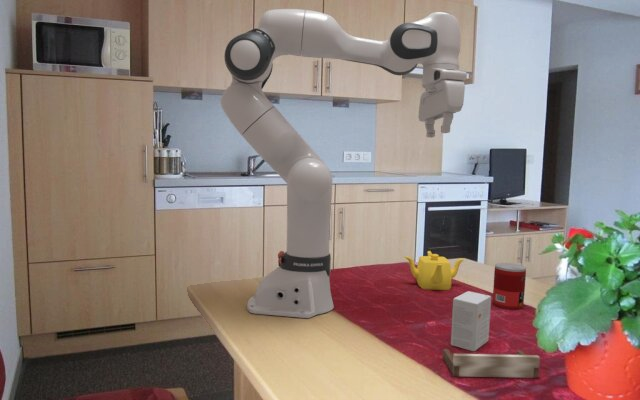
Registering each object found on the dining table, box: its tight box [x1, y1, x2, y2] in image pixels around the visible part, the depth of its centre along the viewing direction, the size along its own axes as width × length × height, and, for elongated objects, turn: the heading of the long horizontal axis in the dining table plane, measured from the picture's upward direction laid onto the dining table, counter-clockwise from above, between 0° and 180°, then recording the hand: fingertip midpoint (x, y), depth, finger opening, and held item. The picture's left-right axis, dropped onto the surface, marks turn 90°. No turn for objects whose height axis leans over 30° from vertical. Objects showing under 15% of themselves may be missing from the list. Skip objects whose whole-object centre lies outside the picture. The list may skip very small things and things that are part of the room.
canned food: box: [492, 262, 527, 310], centre depth 141 cm, size 8×8×11 cm
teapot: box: [403, 250, 467, 291], centre depth 160 cm, size 15×14×10 cm
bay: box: [442, 348, 541, 379], centre depth 101 cm, size 16×8×4 cm, turn 91°
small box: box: [450, 290, 492, 352], centre depth 113 cm, size 8×6×10 cm
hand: (437, 135), depth 130 cm, fingers open, 8 cm apart
